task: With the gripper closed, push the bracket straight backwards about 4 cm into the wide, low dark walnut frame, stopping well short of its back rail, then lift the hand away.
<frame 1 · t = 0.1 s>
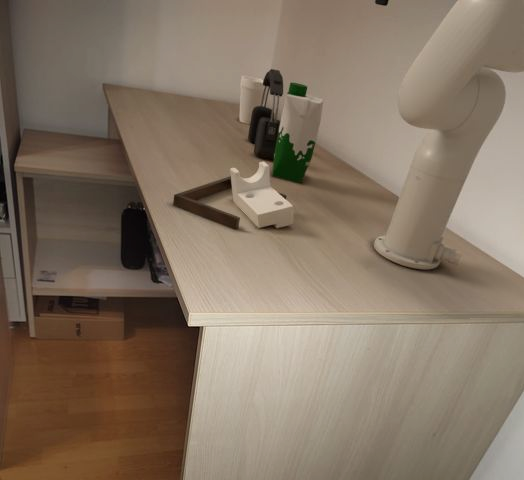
bay: (231, 204, 97), on the table
milk carton: (288, 177, 121), on the table
headphones: (261, 150, 138), on the table
foam cup: (248, 122, 166), on the table
bracket: (257, 215, 95), on the table
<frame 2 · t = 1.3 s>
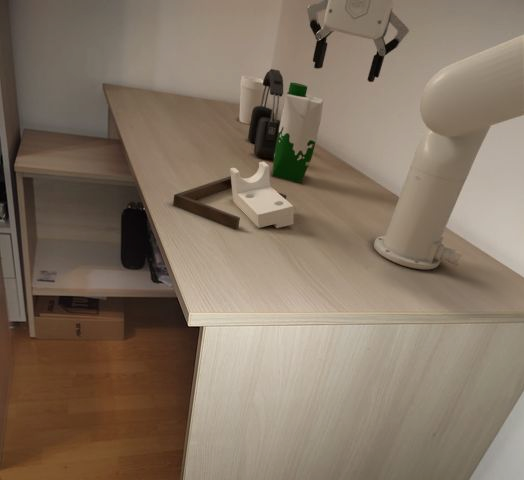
hand: (343, 74, 85), 26 cm above the table, tool pointing down, fingers open, 9 cm apart
nothing on the table moved.
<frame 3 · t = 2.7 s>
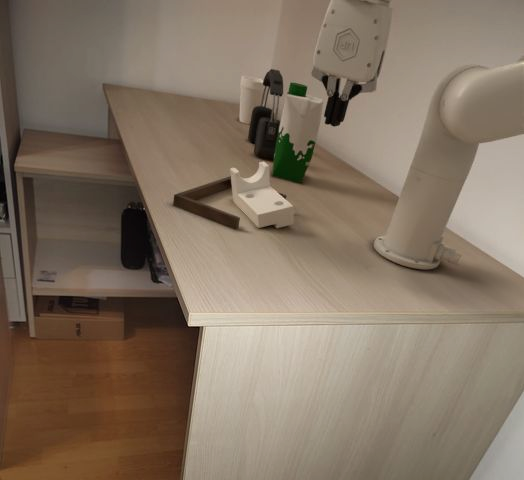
hand: (332, 124, 81), 19 cm above the table, tool pointing down, fingers closed
nothing on the table moved.
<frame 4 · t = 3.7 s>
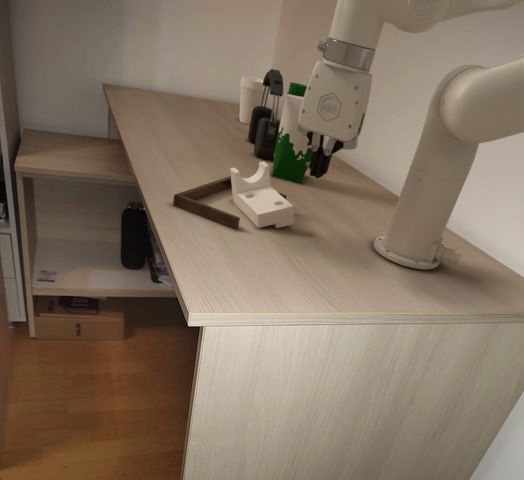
hand: (316, 175, 86), 10 cm above the table, tool pointing down, fingers closed
nothing on the table moved.
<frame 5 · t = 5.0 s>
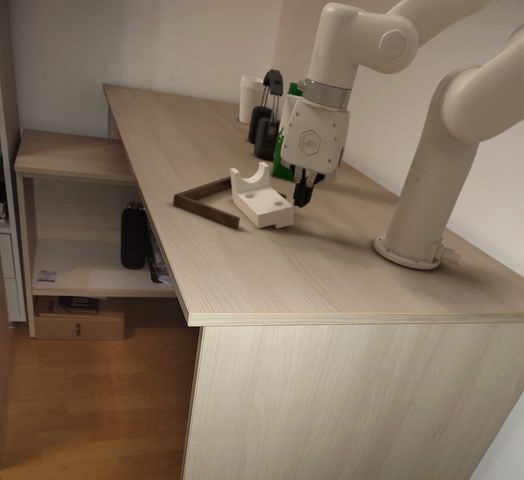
hand: (300, 205, 90), 5 cm above the table, tool pointing down, fingers closed
bracket: (257, 215, 95), on the table, touching gripper
everything else where it was.
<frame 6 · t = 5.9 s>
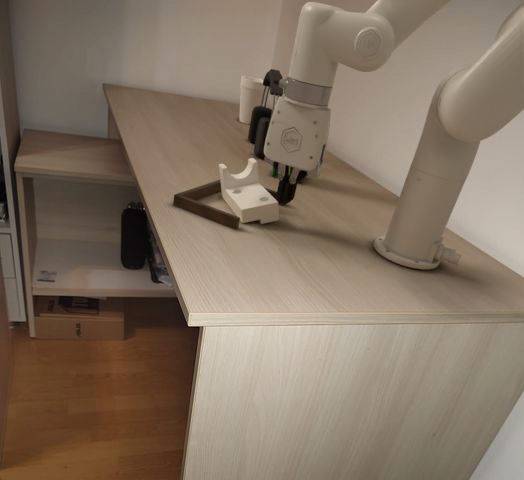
hand: (284, 201, 91), 4 cm above the table, tool pointing down, fingers closed
bracket: (244, 211, 96), on the table, touching gripper
everything else where it was.
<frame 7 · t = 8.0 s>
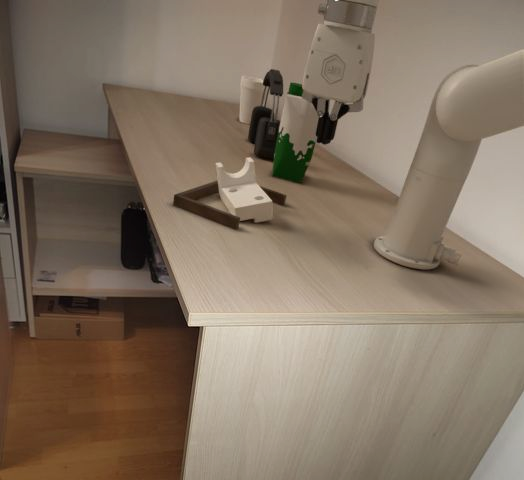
hand: (323, 142, 86), 15 cm above the table, tool pointing down, fingers closed
bracket: (240, 210, 96), on the table
everything else where it was.
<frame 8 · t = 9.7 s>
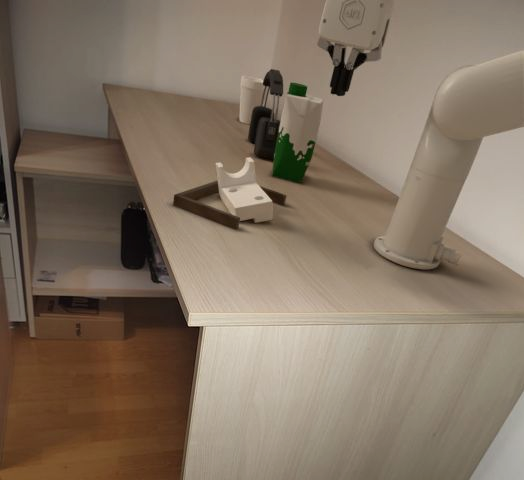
hand: (337, 94, 83), 23 cm above the table, tool pointing down, fingers closed
nothing on the table moved.
at the end: bracket 1.8 cm off-centre on the bay, point 0.0 cm above the bay's base; bracket moved 3.6 cm from its start; bracket tilted 2° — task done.
